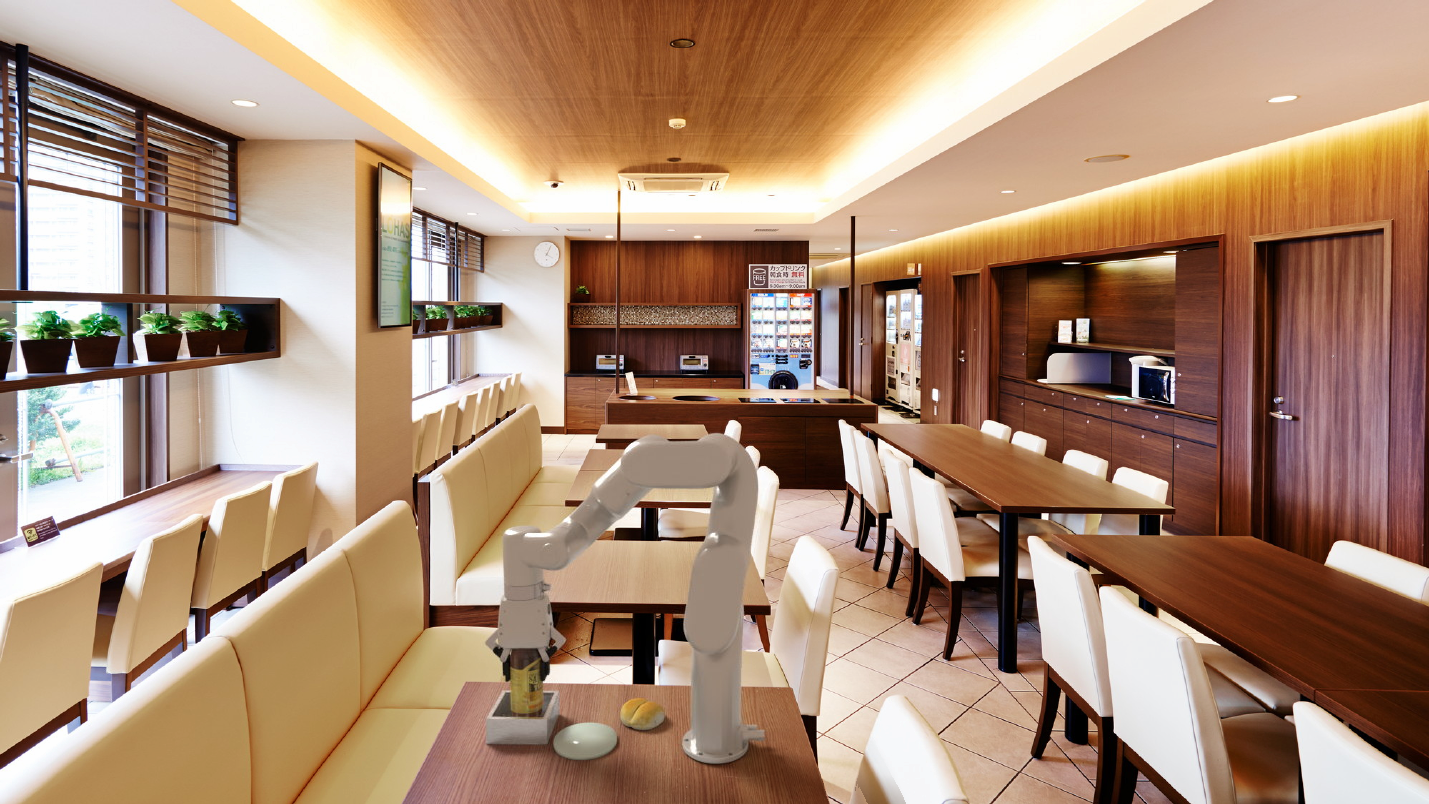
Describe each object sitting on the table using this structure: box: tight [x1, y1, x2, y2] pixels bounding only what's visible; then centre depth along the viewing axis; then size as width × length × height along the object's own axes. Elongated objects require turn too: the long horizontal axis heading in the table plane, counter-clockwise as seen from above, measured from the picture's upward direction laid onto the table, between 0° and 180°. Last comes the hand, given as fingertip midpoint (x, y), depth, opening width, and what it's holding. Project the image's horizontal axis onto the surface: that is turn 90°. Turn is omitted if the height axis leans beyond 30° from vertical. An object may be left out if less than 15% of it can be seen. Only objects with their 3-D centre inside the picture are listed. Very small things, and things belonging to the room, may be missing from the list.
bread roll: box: [619, 697, 665, 731], centre depth 151 cm, size 8×9×4 cm
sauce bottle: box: [509, 648, 544, 717], centre depth 146 cm, size 7×6×20 cm
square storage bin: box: [485, 689, 560, 745], centre depth 147 cm, size 12×12×5 cm
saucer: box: [553, 722, 618, 761], centre depth 142 cm, size 12×12×1 cm
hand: (526, 677), depth 146 cm, fingers closed on sauce bottle, 6 cm apart
